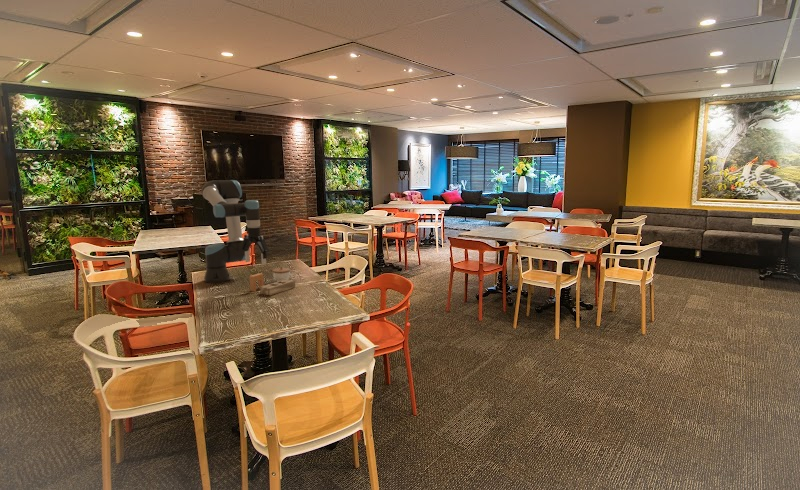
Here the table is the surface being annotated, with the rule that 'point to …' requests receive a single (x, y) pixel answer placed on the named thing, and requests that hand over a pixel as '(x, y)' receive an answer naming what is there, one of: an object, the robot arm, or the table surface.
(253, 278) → the wooden arch block
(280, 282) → the brown wooden block
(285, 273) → the lidded jar
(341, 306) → the table surface
